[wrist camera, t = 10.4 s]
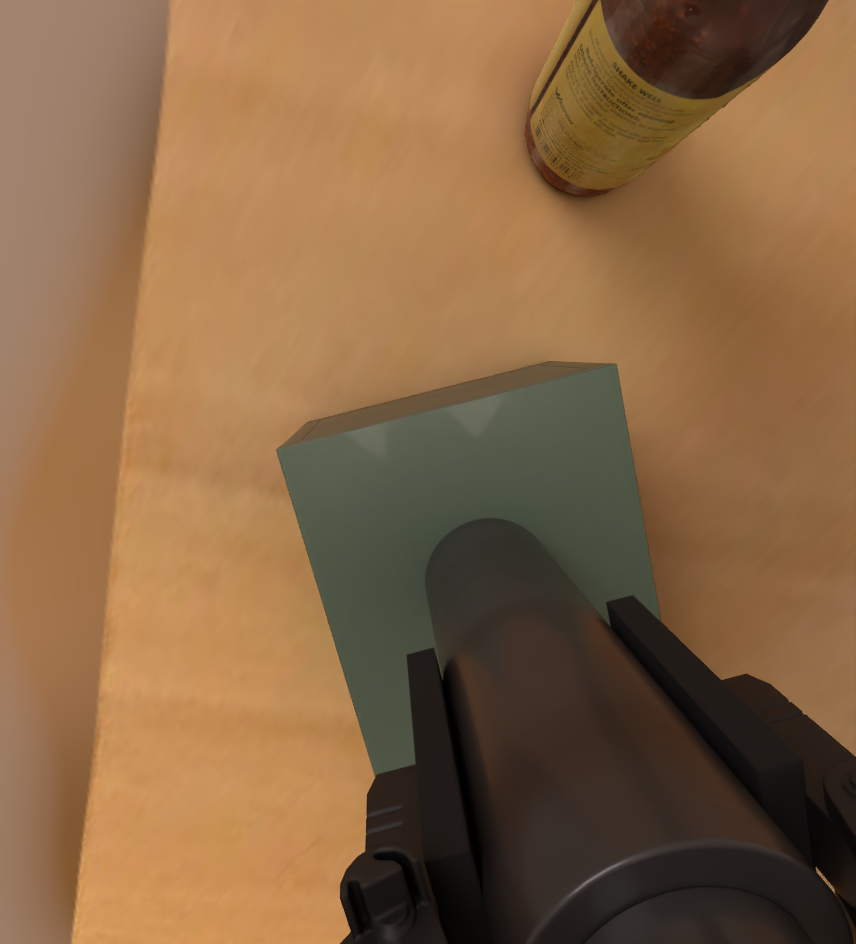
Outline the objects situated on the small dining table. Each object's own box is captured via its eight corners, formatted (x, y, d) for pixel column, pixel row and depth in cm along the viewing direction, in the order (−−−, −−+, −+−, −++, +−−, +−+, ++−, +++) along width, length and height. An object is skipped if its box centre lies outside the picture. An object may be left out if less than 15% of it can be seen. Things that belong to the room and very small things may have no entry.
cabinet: (604, 637, 33) (681, 734, 24) (385, 695, 33) (386, 814, 24) (550, 360, 30) (616, 363, 21) (306, 422, 29) (275, 449, 21)
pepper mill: (560, 618, 23) (1167, 1520, 5) (441, 650, 23) (648, 1683, 5) (535, 503, 22) (1182, 1129, 4) (411, 535, 22) (537, 1320, 4)
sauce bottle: (646, 200, 28) (1210, -131, 9) (518, 201, 28) (822, -145, 9) (652, 48, 27) (1328, -721, 8) (519, 47, 27) (878, -769, 7)
